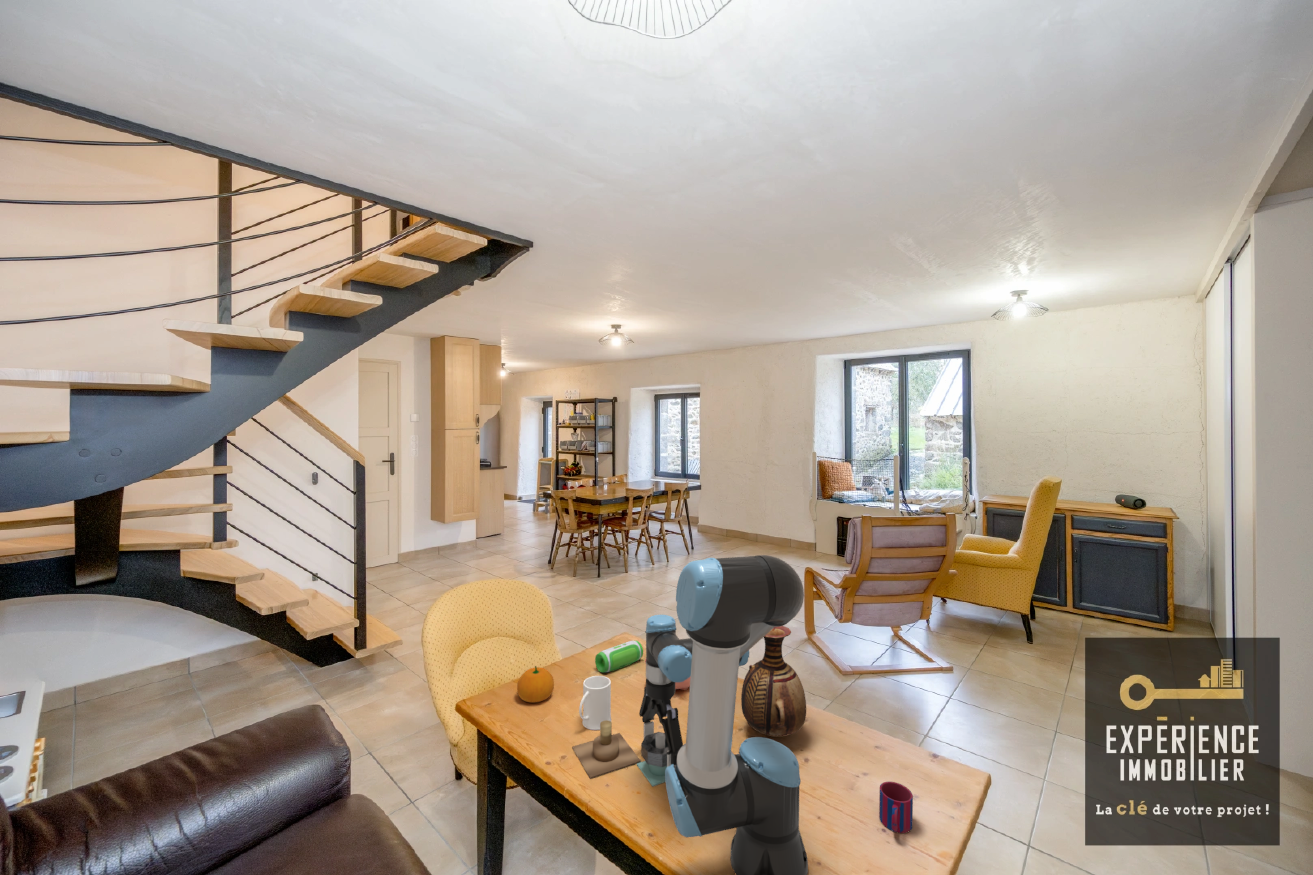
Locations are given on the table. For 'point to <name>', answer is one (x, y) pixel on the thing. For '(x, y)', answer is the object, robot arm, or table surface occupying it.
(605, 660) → the speaker
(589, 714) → the mug
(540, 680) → the fruit
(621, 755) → the hub
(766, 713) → the vase
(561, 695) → the table surface
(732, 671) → the robot arm
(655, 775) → the stand
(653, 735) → the clutch ring
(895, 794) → the cup
